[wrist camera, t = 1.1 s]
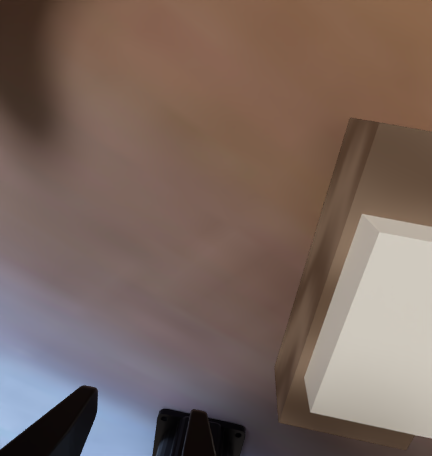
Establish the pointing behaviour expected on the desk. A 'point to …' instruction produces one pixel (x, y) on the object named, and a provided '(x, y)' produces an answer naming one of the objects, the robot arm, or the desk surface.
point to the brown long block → (338, 250)
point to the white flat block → (378, 332)
